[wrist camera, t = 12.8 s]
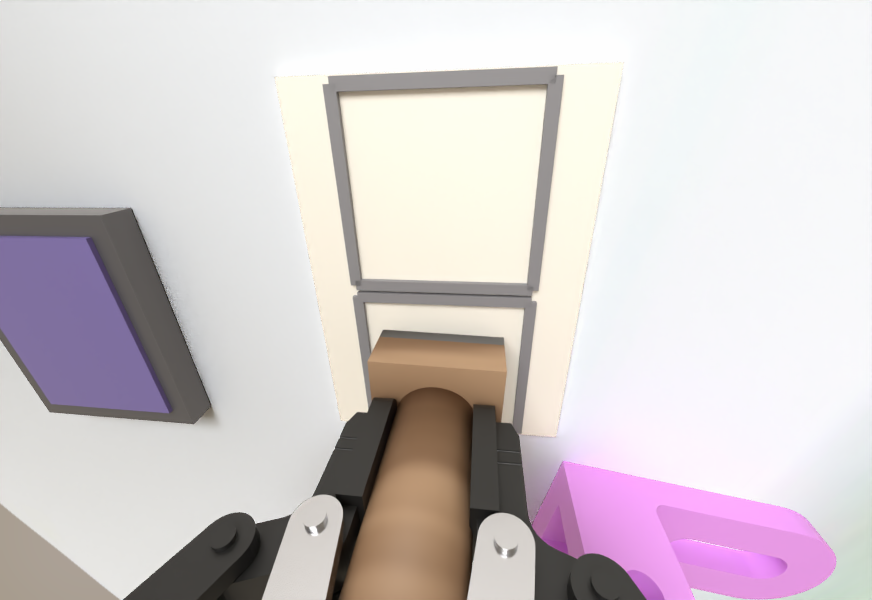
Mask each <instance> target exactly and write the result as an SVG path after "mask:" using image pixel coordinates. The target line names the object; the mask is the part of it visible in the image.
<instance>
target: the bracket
mask: <svg viewBox="0 0 872 600" xmlns="http://www.w3.org/2000/svg"><path fill="white" fill-rule="evenodd" d="M532 527H533V529H534V531H535V532H536V534H537V535H538V536H539V537H540V538H541V539H542V540H543V541H544V542H545V543H547V544H548V545H550V546H551V547H553V548H555V549H557V550H559V551H561V552H563V553H565V554H568V555H570V556H572V557H574V558H576V559H578V558H579V557H580V556H582V555H585V554H589V553H595V554H600V555H604V556H606V557H608V558H610V559H612V560H613V561H615V562H616V563H618V564H619V565H620V566H621V567H622V568H623V569H624V570H625V571H626V572H627V573H628V575H629V576H630V577H631V579H632V580H633V581H634V583H635V584H636V586H637V587H638V588H639V590H640V591H641V592H642V594H643V595H644V597H645V598H646V599H647V600H695V598H694V596H693V594H692V591H691V589H690V588H695V589H699V590H704V591H708V592H713V593H717V594H722V595H726V596H731V597H736V598H743V599H774V598H781V597H787V596H791V595H795V594H798V593H801V592H804V591H807V590H809V589H812V588H813V587H815V586H817V585H819V584H821V583H822V582H823V581H825V580H826V579H827V578H828V577H829V576H830V575H831V574H832V572H833V571H834V569H835V566H836V556H835V554H834V552H833V551H832V549H831V548H830V547H829V546H828V544H827V543H826V542H825V541H824V539H823V538H822V537H821V536H820V535H819V533H818V532H817V531H816V530H815V528H814V527H813V526H812V525H811V524H810V522H809V521H808V520H807V519H806V518H805V517H803V516H802V515H801V514H799V513H797V512H795V511H793V510H790V509H787V508H783V507H779V506H774V505H770V504H765V503H760V502H755V501H751V500H746V499H741V498H736V497H732V496H727V495H722V494H717V493H713V492H708V491H703V490H698V489H694V488H689V487H684V486H679V485H675V484H670V483H665V482H660V481H656V480H651V479H646V478H641V477H637V476H632V475H627V474H622V473H618V472H613V471H608V470H603V469H599V468H594V467H589V466H584V465H580V464H575V463H570V462H565V461H563V462H562V464H561V466H560V468H559V470H558V472H557V474H556V476H555V478H554V480H553V482H552V484H551V486H550V488H549V490H548V493H547V495H546V497H545V499H544V501H543V503H542V505H541V507H540V509H539V511H538V513H537V515H536V517H535V519H534V521H533V523H532ZM687 539H693V540H698V541H702V542H707V543H711V544H716V545H721V546H725V547H730V548H735V549H739V550H744V551H738V550H733V549H729V548H724V547H719V546H715V545H710V544H705V543H701V542H696V541H692V540H687Z"/></svg>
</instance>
